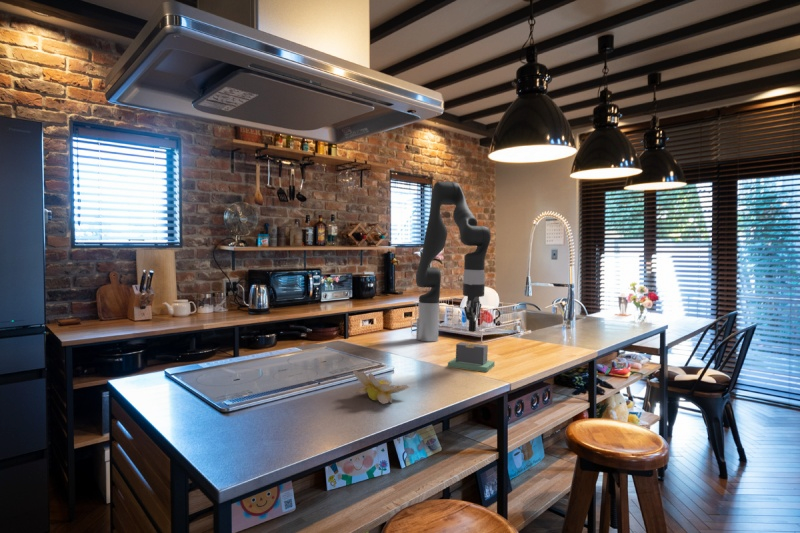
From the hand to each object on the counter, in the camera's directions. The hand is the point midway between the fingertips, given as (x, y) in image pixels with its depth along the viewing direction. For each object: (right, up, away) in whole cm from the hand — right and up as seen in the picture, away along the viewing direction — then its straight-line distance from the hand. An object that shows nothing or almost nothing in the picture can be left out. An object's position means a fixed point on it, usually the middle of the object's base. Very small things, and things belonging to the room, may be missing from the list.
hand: (472, 331), depth 159 cm
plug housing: (0, -11, 0) cm, 11 cm away
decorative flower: (-31, -13, -38) cm, 50 cm away
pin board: (0, -12, 0) cm, 12 cm away
